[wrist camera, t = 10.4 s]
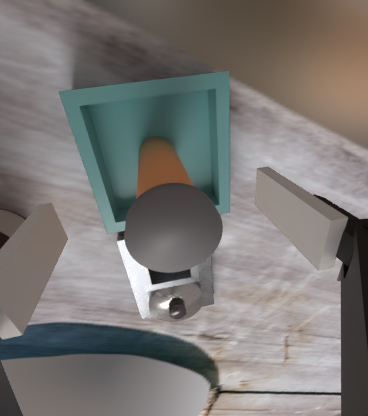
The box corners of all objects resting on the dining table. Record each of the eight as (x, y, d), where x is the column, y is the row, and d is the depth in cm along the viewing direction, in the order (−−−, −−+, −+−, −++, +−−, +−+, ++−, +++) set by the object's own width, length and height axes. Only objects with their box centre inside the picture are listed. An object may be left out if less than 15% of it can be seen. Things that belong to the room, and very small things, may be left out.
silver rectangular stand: (142, 310, 37) (141, 341, 33) (116, 230, 29) (111, 256, 25) (211, 296, 38) (220, 324, 34) (206, 215, 30) (216, 237, 26)
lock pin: (139, 180, 25) (136, 280, 12) (129, 134, 23) (112, 201, 10) (182, 172, 26) (223, 262, 13) (177, 127, 23) (221, 182, 10)
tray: (112, 215, 28) (107, 233, 25) (72, 90, 21) (58, 91, 18) (219, 197, 29) (230, 212, 26) (216, 72, 22) (229, 70, 19)
